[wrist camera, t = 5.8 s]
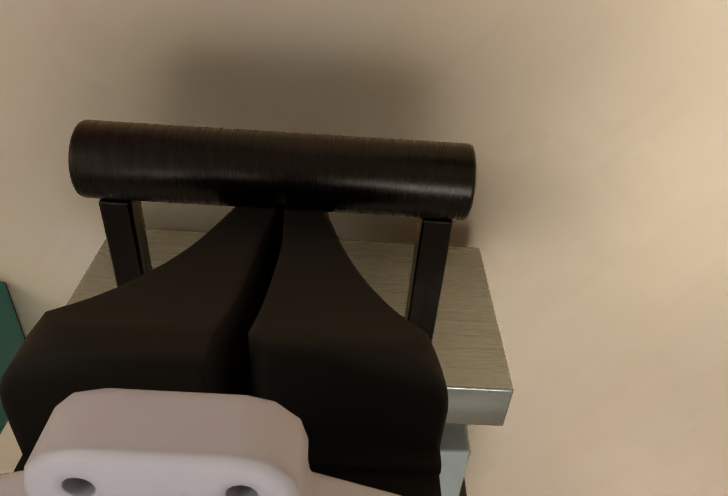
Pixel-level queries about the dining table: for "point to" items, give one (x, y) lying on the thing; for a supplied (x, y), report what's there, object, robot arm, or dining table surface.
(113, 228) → the drawer
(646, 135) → the dining table surface
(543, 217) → the dining table surface
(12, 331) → the block
